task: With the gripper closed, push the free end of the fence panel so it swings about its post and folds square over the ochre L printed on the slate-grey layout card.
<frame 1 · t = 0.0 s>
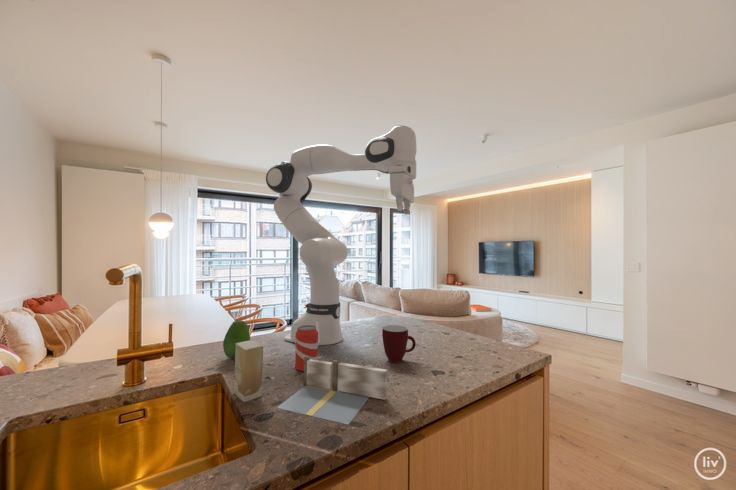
hand: (403, 212, 105), 48 cm above the worktop, fingers open, 8 cm apart
fence panel: (361, 380, 71), point 4 cm above the worktop, hinge at 0.0°
fruit: (236, 359, 95), on the worktop
skincare box: (247, 397, 71), on the worktop
layout card: (328, 400, 69), on the worktop
beverage can: (306, 369, 87), on the worktop
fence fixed: (335, 390, 73), resting on layout card
mug: (398, 360, 95), on the worktop
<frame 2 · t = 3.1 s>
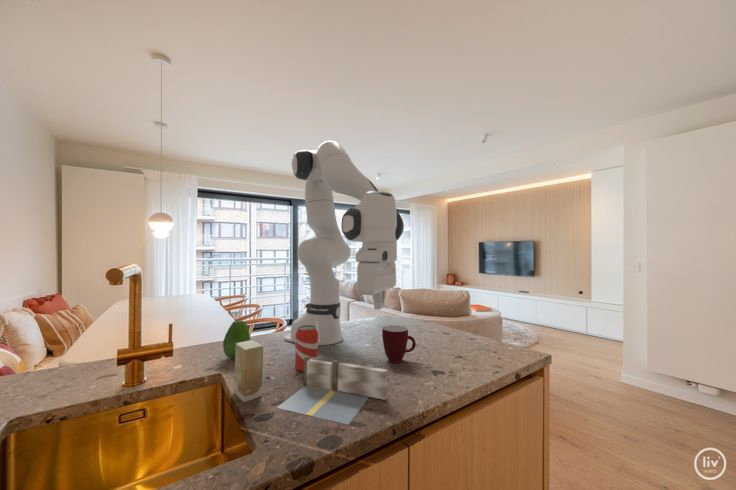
hand: (379, 308, 76), 20 cm above the worktop, fingers closed
nothing on the worktop moved.
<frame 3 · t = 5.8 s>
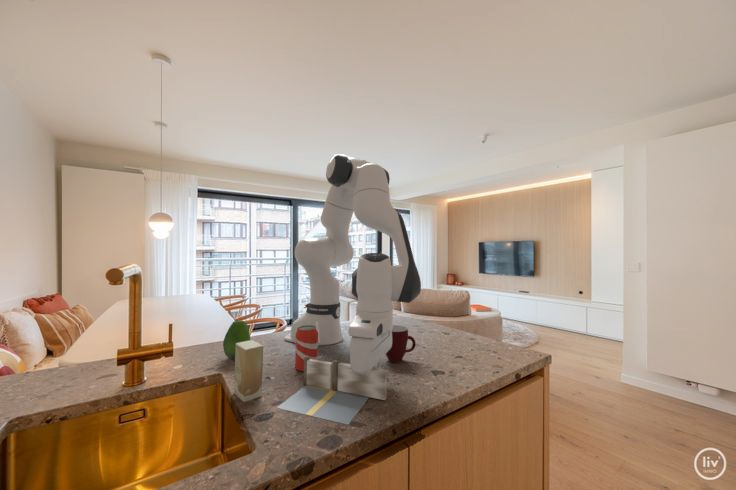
hand: (374, 378, 72), 4 cm above the worktop, fingers closed
fence panel: (361, 380, 71), point 4 cm above the worktop, hinge at -1.1°, touching gripper
everything else where it was.
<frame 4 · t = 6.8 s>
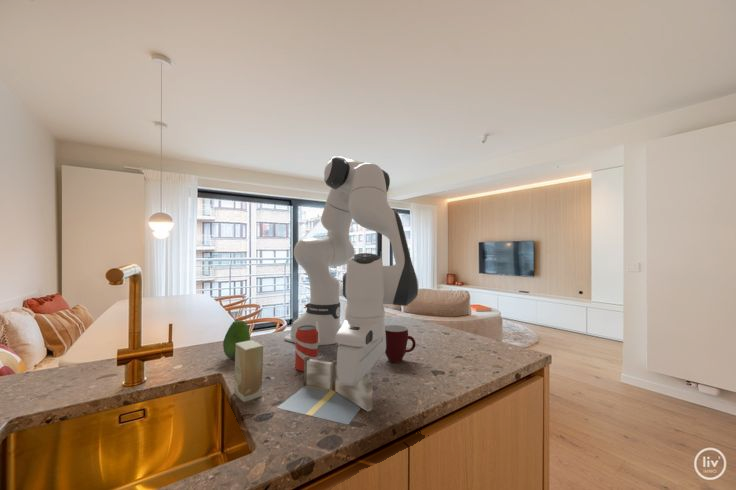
hand: (365, 387, 68), 4 cm above the worktop, fingers closed, pressing on fence panel
fence panel: (352, 385, 68), point 4 cm above the worktop, hinge at -28.7°, touching gripper
everything else where it was.
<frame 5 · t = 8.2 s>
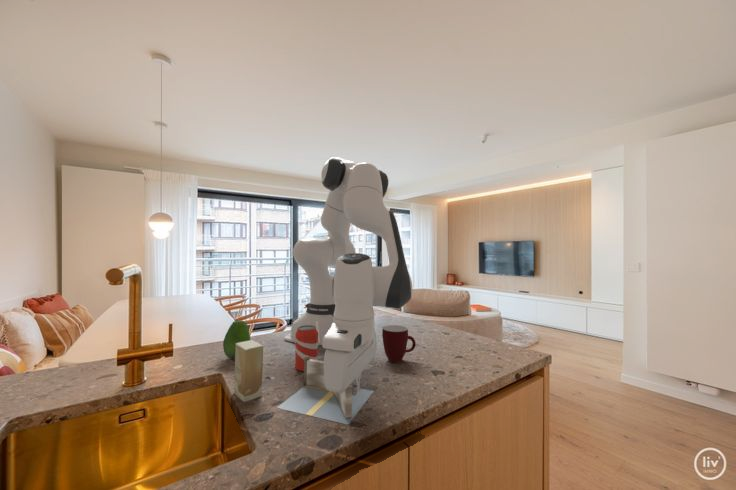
hand: (354, 392, 65), 4 cm above the worktop, fingers closed
fence panel: (341, 388, 67), point 4 cm above the worktop, hinge at -50.9°, touching gripper
everything else where it was.
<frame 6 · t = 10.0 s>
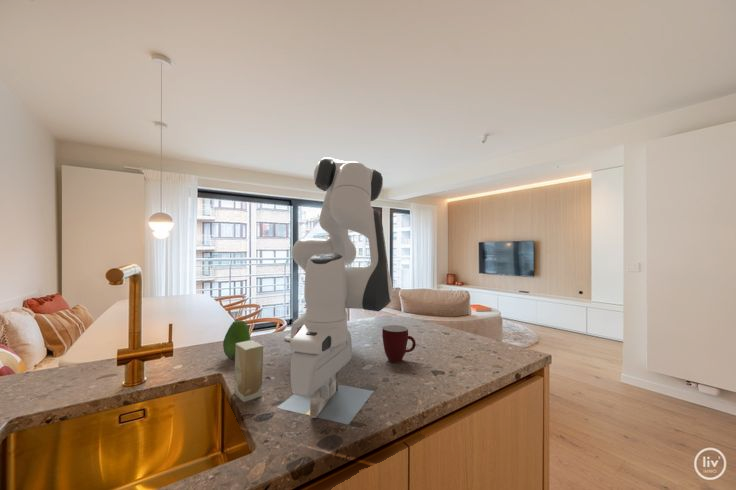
hand: (326, 397, 63), 4 cm above the worktop, fingers closed, pressing on fence panel
fence panel: (324, 388, 66), point 4 cm above the worktop, hinge at -83.1°, touching gripper
everything else where it was.
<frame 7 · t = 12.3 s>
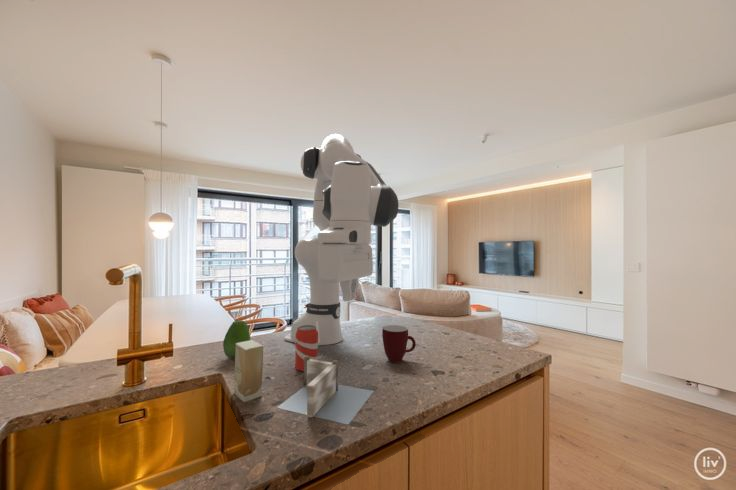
hand: (349, 300, 64), 24 cm above the worktop, fingers closed
fence panel: (322, 388, 66), point 4 cm above the worktop, hinge at -86.2°
everything else where it was.
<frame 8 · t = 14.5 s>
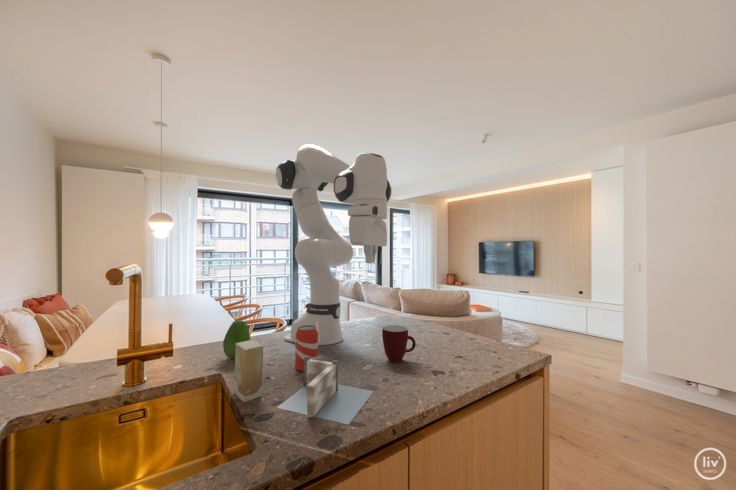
hand: (370, 262, 82), 31 cm above the worktop, fingers closed
nothing on the worktop moved.
at the end: fence panel at -86° (first picture: +0°) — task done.
